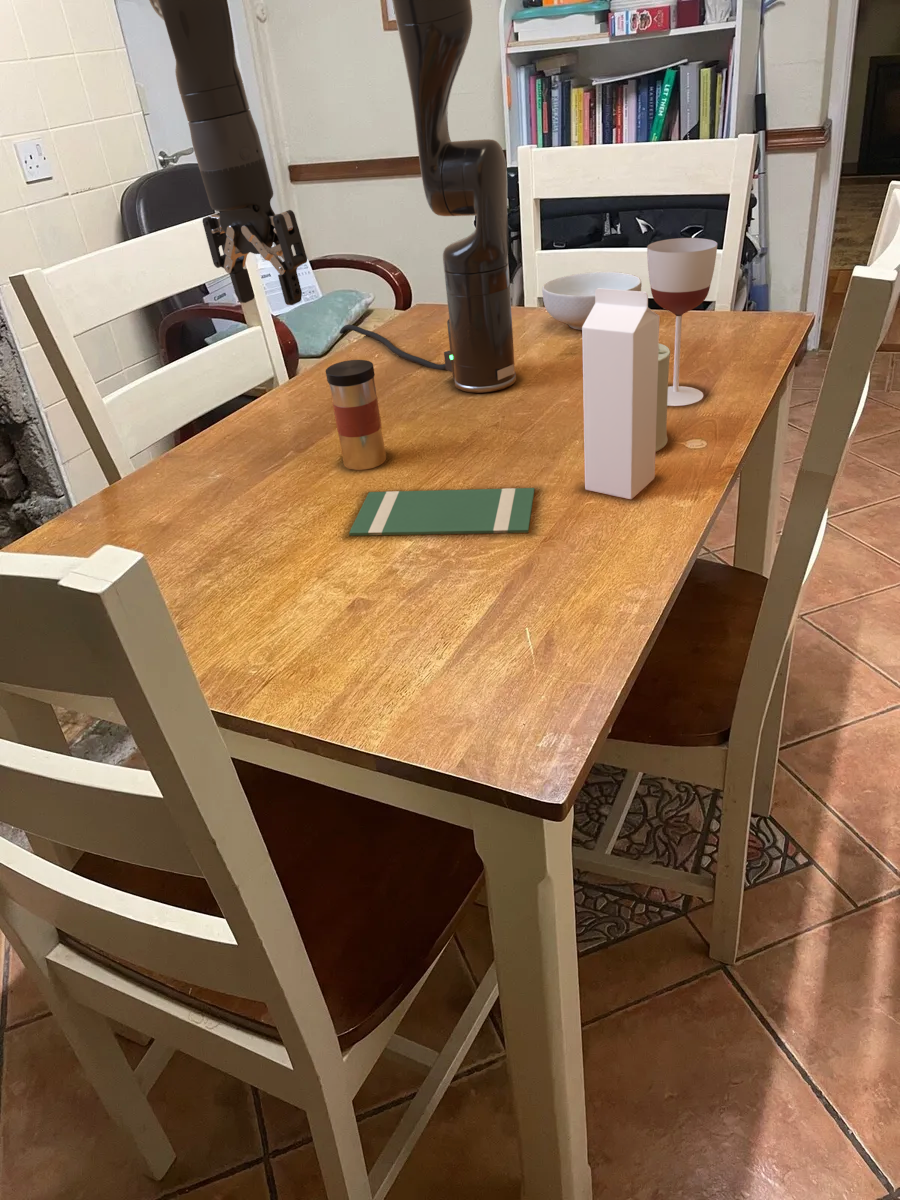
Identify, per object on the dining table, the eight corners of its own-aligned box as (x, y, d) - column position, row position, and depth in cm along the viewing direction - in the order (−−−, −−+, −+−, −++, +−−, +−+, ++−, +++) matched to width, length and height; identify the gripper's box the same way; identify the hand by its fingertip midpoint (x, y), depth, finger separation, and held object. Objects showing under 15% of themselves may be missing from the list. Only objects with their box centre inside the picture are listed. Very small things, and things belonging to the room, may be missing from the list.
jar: (334, 460, 115) (317, 368, 108) (373, 447, 117) (359, 356, 111) (355, 474, 111) (338, 379, 104) (395, 460, 113) (381, 366, 106)
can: (667, 456, 106) (671, 359, 99) (591, 457, 108) (589, 362, 101) (667, 426, 113) (670, 334, 107) (595, 427, 115) (594, 337, 109)
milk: (609, 470, 105) (608, 280, 93) (655, 479, 101) (661, 283, 89) (584, 490, 101) (580, 295, 89) (631, 500, 97) (634, 299, 85)
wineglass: (696, 409, 117) (705, 253, 106) (635, 402, 121) (637, 251, 110) (715, 388, 122) (725, 238, 111) (655, 382, 127) (660, 237, 116)
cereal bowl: (659, 316, 153) (660, 274, 149) (605, 344, 144) (604, 300, 140) (580, 305, 163) (579, 266, 160) (524, 331, 154) (522, 290, 150)
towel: (369, 494, 105) (368, 491, 105) (534, 490, 102) (534, 487, 102) (349, 535, 97) (348, 532, 97) (528, 533, 94) (528, 529, 94)
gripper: (297, 149, 98) (331, 294, 107) (215, 156, 106) (253, 291, 115) (249, 164, 94) (289, 314, 103) (167, 170, 101) (210, 310, 111)
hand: (270, 302), depth 109 cm, fingers open, 8 cm apart
